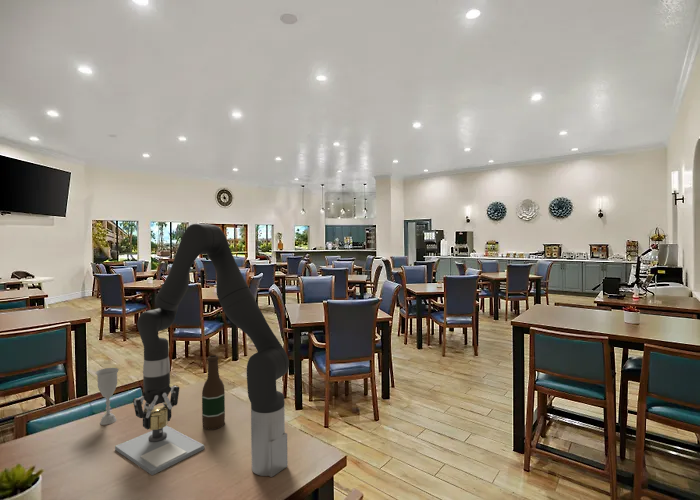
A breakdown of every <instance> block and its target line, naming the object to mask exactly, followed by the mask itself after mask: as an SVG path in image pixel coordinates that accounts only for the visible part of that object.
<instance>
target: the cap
mask: <svg viewBox="0 0 700 500" xmlns="http://www.w3.org/2000/svg"><path fill="white" fill-rule="evenodd" d="M149 417H150V429H148V430H149V431H152V430H157V429H161V428H163V427H165V426H166V425H167V426H168V422H169V421H168V411H167V407H166V406H164V405H156V406H154V408H153V410H152V411H151V414H150V416H149Z"/></svg>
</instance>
